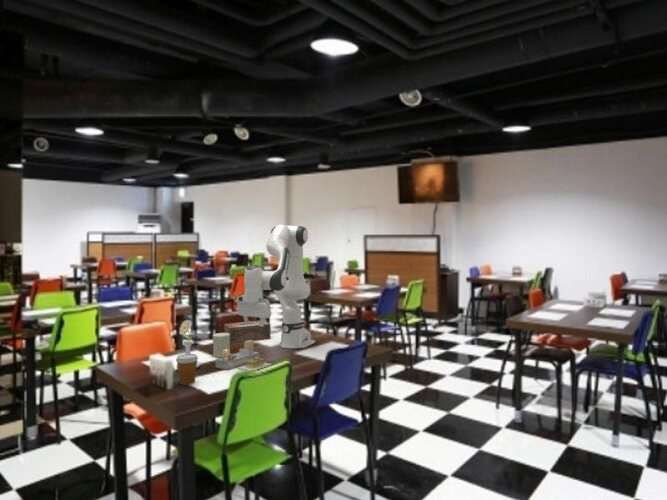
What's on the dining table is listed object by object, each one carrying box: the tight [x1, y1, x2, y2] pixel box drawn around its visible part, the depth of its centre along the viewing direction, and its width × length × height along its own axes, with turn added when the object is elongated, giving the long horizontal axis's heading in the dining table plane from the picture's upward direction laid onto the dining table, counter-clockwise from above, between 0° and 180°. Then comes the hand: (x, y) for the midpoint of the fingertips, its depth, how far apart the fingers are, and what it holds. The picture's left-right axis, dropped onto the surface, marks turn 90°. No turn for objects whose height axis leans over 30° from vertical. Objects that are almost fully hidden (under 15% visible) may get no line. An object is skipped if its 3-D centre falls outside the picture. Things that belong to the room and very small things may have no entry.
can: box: [212, 332, 231, 358], centre depth 257 cm, size 9×9×12 cm
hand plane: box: [215, 340, 260, 371], centre depth 240 cm, size 22×9×10 cm, turn 146°
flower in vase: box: [176, 319, 201, 369], centre depth 231 cm, size 13×11×25 cm
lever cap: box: [245, 356, 265, 368], centre depth 233 cm, size 8×5×4 cm, turn 146°
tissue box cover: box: [223, 320, 271, 345], centre depth 296 cm, size 26×14×10 cm, turn 115°
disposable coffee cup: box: [175, 353, 199, 386], centre depth 210 cm, size 10×10×12 cm
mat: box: [237, 362, 273, 372], centre depth 233 cm, size 14×10×1 cm
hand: (254, 325), depth 232 cm, fingers open, 8 cm apart
